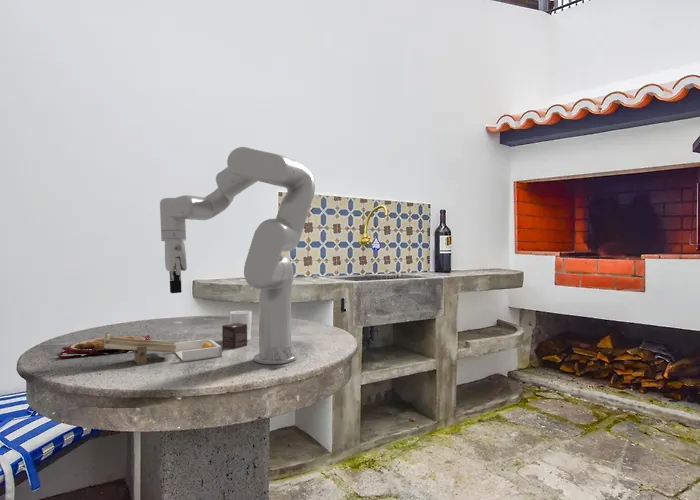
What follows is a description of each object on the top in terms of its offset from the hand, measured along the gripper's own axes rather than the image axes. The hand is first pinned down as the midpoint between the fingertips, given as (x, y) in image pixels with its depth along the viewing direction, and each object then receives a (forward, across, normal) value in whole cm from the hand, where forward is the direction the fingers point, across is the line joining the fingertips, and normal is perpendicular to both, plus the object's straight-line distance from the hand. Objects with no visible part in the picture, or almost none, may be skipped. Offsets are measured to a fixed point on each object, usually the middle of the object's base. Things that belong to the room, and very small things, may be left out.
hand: (175, 292), depth 149 cm
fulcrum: (+19, -8, +12) cm, 24 cm away
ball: (+18, -8, -7) cm, 21 cm away
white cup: (+20, +6, -23) cm, 31 cm away
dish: (+19, -8, -4) cm, 21 cm away
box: (+20, -3, -18) cm, 27 cm away
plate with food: (+19, +20, +18) cm, 33 cm away
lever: (+15, -4, +12) cm, 20 cm away
